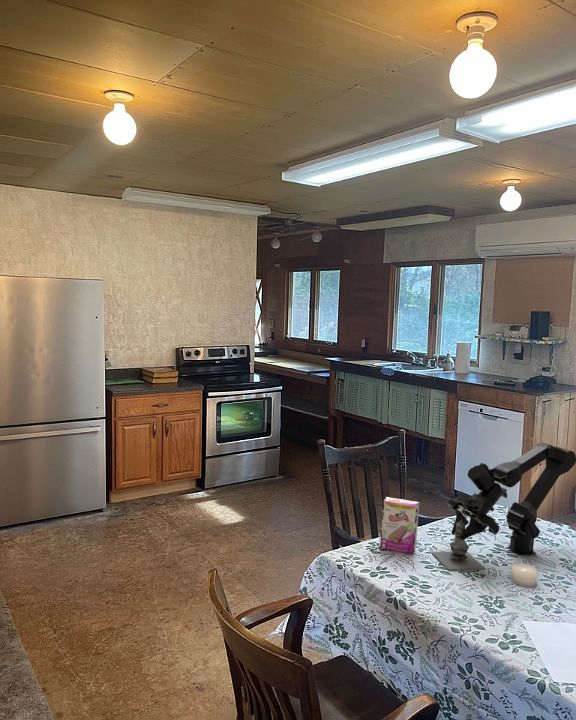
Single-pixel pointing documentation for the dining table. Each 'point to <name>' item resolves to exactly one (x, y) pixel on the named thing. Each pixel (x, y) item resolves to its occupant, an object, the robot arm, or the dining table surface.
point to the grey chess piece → (459, 543)
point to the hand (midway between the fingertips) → (456, 536)
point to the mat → (457, 562)
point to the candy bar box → (399, 525)
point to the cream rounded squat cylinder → (524, 574)
